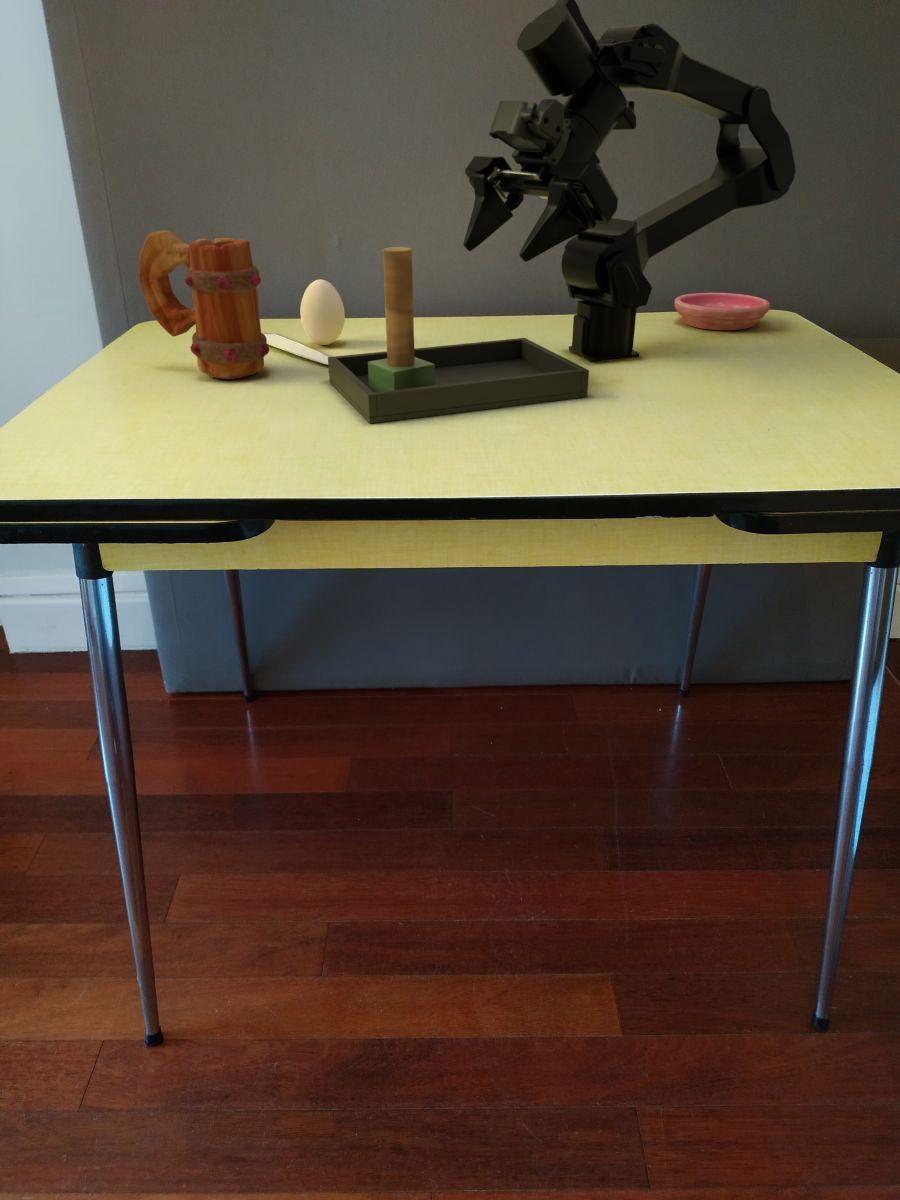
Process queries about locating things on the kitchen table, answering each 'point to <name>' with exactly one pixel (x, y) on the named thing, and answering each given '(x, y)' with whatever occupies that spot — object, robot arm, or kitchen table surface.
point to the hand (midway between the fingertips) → (493, 253)
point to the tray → (463, 380)
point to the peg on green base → (399, 330)
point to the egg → (322, 312)
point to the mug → (208, 300)
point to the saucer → (721, 310)
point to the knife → (294, 347)
